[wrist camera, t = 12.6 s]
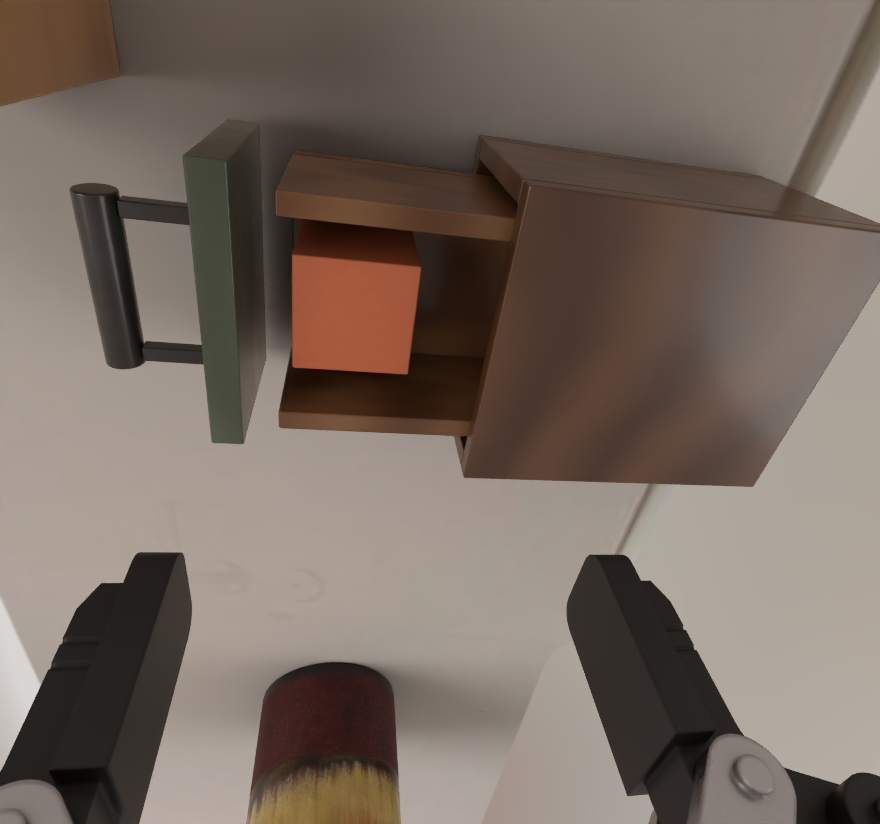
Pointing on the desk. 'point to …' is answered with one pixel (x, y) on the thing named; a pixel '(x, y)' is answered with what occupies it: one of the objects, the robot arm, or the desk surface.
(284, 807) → the vase
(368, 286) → the block
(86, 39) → the stand
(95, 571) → the desk surface
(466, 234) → the drawer
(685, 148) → the desk surface
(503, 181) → the cabinet
